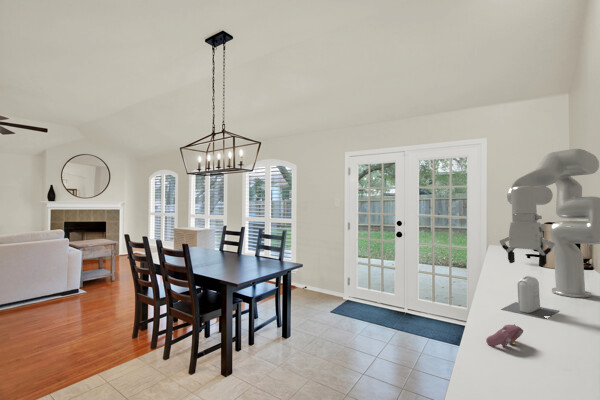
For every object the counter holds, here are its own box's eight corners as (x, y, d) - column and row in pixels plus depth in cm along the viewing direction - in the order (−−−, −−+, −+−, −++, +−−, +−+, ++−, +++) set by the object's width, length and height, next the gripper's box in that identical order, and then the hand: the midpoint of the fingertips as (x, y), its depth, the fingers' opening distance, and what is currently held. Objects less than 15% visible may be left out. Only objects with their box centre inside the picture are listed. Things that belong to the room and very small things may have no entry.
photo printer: (528, 305, 118) (526, 273, 119) (541, 308, 115) (540, 275, 115) (516, 311, 113) (515, 277, 113) (530, 314, 109) (528, 279, 109)
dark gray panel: (515, 302, 123) (515, 301, 123) (559, 311, 112) (559, 310, 112) (500, 309, 115) (500, 309, 115) (546, 320, 104) (546, 319, 104)
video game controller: (498, 355, 83) (509, 336, 81) (483, 342, 87) (493, 323, 85) (518, 346, 88) (529, 328, 85) (503, 334, 92) (513, 316, 89)
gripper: (556, 218, 110) (559, 266, 109) (503, 218, 124) (505, 260, 123) (549, 219, 106) (552, 268, 105) (494, 218, 120) (496, 262, 119)
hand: (526, 264), depth 114 cm, fingers open, 9 cm apart
